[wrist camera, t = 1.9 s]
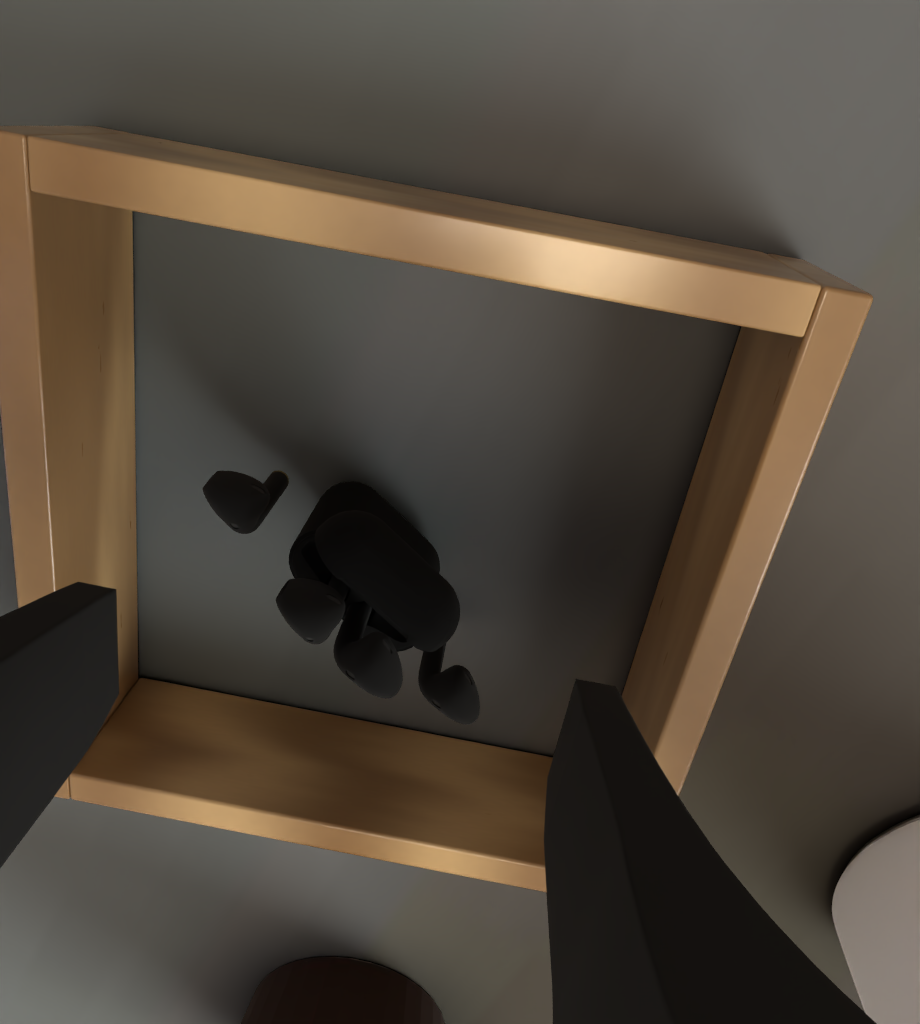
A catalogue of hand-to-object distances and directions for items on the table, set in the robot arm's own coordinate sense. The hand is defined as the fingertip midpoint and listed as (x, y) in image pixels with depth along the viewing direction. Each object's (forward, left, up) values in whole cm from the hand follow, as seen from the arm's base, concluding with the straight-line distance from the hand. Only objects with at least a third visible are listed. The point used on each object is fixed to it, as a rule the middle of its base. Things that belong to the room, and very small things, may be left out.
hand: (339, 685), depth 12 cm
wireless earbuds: (0, 0, -6) cm, 6 cm away
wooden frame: (0, 0, -6) cm, 6 cm away
